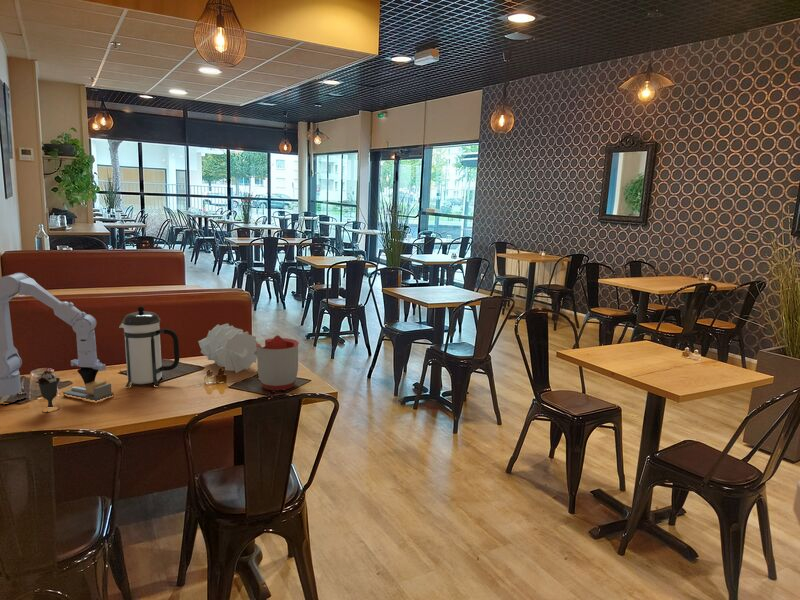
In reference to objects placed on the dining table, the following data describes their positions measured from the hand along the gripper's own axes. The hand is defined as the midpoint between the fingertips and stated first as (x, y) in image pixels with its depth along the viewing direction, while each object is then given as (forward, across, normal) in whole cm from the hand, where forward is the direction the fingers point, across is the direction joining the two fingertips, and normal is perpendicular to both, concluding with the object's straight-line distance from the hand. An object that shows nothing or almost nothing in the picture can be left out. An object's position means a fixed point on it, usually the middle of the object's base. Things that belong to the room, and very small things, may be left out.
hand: (89, 387), depth 197 cm
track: (+3, +1, 0) cm, 4 cm away
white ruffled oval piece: (+4, -20, -50) cm, 54 cm away
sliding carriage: (+2, -3, 0) cm, 3 cm away
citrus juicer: (+4, -52, -38) cm, 64 cm away
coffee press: (+4, -7, -20) cm, 21 cm away
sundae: (+4, +1, +14) cm, 15 cm away
